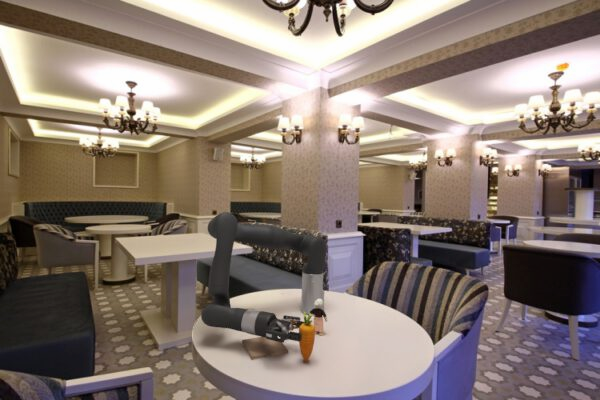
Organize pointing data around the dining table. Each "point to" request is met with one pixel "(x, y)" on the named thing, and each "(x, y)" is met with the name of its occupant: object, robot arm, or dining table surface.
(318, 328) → the grandmother figurine
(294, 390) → the dining table surface
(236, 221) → the robot arm
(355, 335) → the dining table surface
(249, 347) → the walnut board
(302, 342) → the carrot
